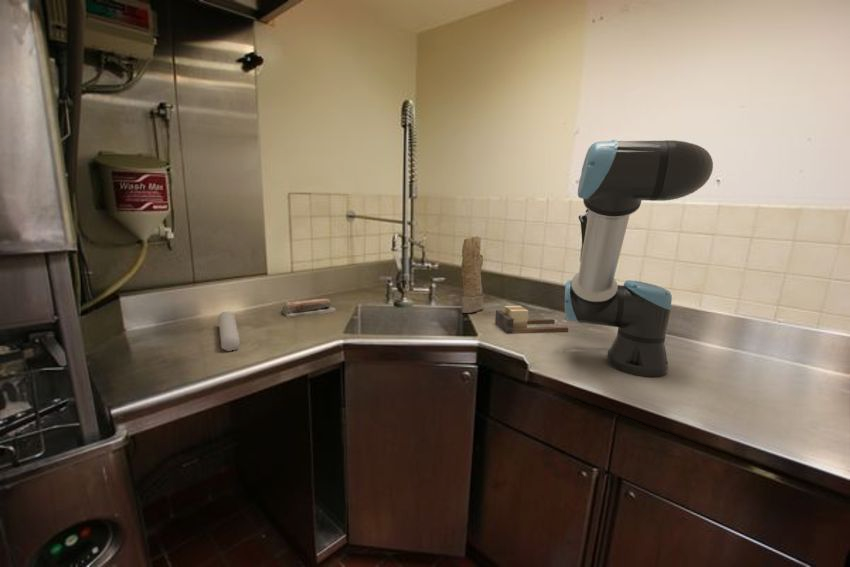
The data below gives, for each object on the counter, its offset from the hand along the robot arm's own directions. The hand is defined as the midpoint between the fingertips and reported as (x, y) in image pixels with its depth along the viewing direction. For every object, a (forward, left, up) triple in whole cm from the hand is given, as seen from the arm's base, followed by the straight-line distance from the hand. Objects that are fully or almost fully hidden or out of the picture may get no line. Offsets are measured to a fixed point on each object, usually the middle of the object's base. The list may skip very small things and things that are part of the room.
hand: (591, 266), depth 132 cm
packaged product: (+33, +94, -24) cm, 102 cm away
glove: (+31, +30, -24) cm, 50 cm away
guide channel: (+4, +17, -23) cm, 29 cm away
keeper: (+4, +23, -22) cm, 33 cm away
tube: (+6, +115, -24) cm, 117 cm away
